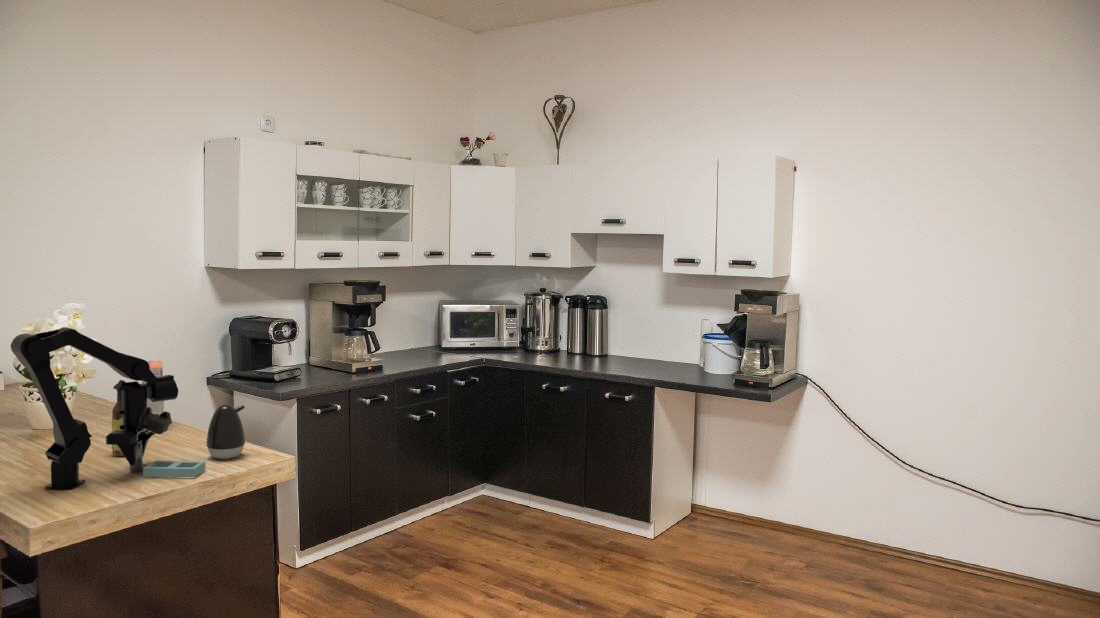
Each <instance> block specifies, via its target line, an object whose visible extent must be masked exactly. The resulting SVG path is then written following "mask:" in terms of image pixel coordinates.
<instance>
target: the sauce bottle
mask: <svg viewBox="0 0 1100 618" xmlns="http://www.w3.org/2000/svg"><path fill="white" fill-rule="evenodd" d="M116 392H117V393H116V394H117V395H116V402H115V404H114V407H113V408H112V418H111V433H112V432H114V431H116V430H120V426H121V425H123V414H119V410H121V409H123V400H122V390H121V391H119V390H116ZM111 450H112V452H111V453H112V455H113V456H114V457H125V456H124V454H123V452H122V451H121V449H120V448H119V447H118V445H111Z"/></svg>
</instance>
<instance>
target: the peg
mask: <svg viewBox="0 0 1100 618" xmlns="http://www.w3.org/2000/svg"><path fill="white" fill-rule="evenodd" d="M143 465H144V464H143V459H142V441H141V442H140V443H139V444H138V445H137V452H136V460H135V465H130V464H129V473H133V474H138V473H141V472H142V473H143V468H144V467H143Z"/></svg>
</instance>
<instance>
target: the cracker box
mask: <svg viewBox="0 0 1100 618" xmlns="http://www.w3.org/2000/svg"><path fill="white" fill-rule="evenodd" d="M146 361H147V362H148V363H149V367H150V371H151V372H152V373H153V374H154V375H155V376H156V377H161V376H164V370H163V360H149V361H148V360H146ZM144 383H147V382H144V381H141V384H144ZM164 402H165V401H159V402H152V401H151V400H150V399H148V398H147V407H150V408H151V411H152V413H153V414H159V415H160V414H161V413H163V412H165V403H164ZM150 432H153V431H150Z"/></svg>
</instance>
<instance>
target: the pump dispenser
mask: <svg viewBox="0 0 1100 618" xmlns="http://www.w3.org/2000/svg"><path fill="white" fill-rule="evenodd" d="M245 407H246V406H245V405H244V404H242V405H240V406H237V407H234V406H233V405H231V404H228V403H225V404H221V405H219V406H218V407H217V408H216V409H215V411H214V413H213V415H212V416H211V419H210V423H209V425H208V430H207V433H206V434H207V435H206V443H205V444H206V447H207V449H208V452H209V454H210V455H211V456H212V457H213V458H215V459H217V458H218V459H217V460H228V459H227V458H232V459H234V458H233V457H235V458H237V457H238V456H239V455H241V454H242V452H243V450H244V447H245V445H246V436H245V431H244V430H245V429H244V426H243V422H242V419H241V417H240V415H239V412H241V411H242V410H244V409H245Z"/></svg>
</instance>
